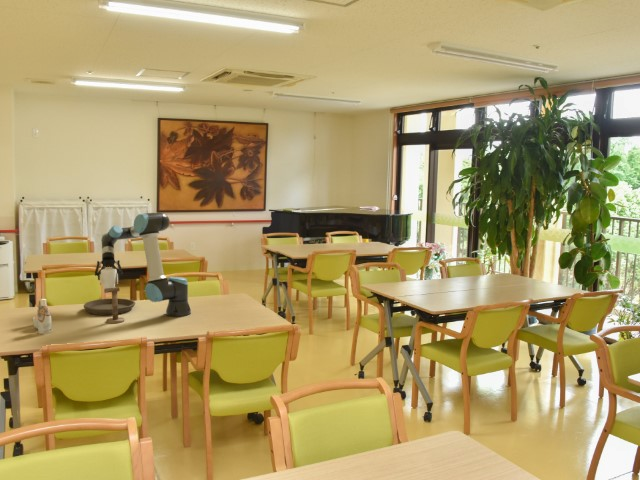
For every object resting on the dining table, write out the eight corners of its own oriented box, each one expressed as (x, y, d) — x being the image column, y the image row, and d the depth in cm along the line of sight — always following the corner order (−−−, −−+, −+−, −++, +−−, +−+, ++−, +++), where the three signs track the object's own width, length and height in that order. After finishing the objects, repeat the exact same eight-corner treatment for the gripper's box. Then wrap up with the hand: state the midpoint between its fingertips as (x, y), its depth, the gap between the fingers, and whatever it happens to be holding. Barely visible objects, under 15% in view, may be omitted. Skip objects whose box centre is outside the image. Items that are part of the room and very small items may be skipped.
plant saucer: (128, 302, 396) (128, 295, 395) (141, 312, 370) (141, 305, 370) (79, 307, 379) (79, 300, 379) (89, 318, 354) (89, 311, 353)
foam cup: (102, 292, 367) (101, 271, 365) (100, 289, 375) (99, 269, 373) (118, 290, 371) (117, 270, 369) (115, 288, 379) (115, 268, 378)
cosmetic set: (31, 324, 339) (29, 292, 337) (48, 322, 344) (47, 290, 342) (36, 335, 318) (34, 301, 316) (54, 333, 323) (53, 299, 321)
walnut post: (126, 321, 347) (126, 288, 345) (109, 324, 341) (108, 290, 338) (120, 318, 355) (119, 285, 352) (103, 320, 348) (102, 287, 346)
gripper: (125, 257, 389) (127, 285, 376) (90, 258, 381) (90, 287, 368) (126, 250, 383) (127, 279, 370) (89, 252, 375) (90, 281, 363)
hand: (109, 283), depth 369 cm, fingers closed on foam cup, 9 cm apart
